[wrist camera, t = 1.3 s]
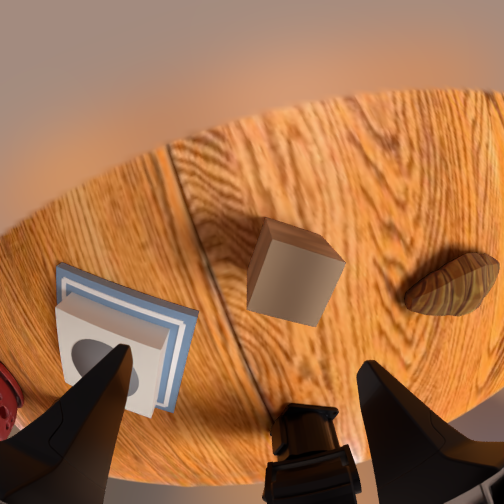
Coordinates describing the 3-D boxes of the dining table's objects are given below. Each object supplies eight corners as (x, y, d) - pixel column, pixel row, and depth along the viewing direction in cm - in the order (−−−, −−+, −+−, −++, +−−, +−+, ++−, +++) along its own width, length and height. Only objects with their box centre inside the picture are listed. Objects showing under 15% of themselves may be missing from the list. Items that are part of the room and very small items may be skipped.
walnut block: (320, 235, 21) (346, 262, 15) (300, 286, 22) (315, 327, 16) (265, 216, 20) (272, 238, 15) (247, 270, 22) (246, 309, 16)
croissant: (491, 232, 21) (522, 246, 16) (486, 286, 23) (512, 305, 18) (399, 263, 22) (429, 286, 17) (399, 324, 24) (422, 353, 19)
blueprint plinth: (199, 311, 23) (190, 339, 19) (175, 406, 27) (168, 433, 23) (61, 262, 21) (36, 279, 17) (68, 365, 25) (53, 386, 22)
